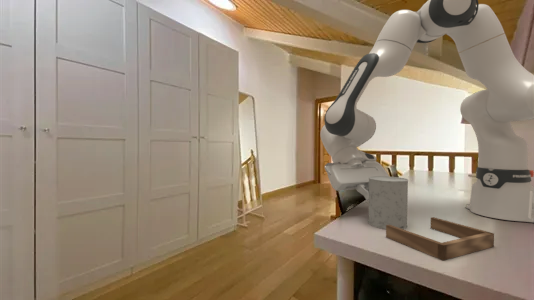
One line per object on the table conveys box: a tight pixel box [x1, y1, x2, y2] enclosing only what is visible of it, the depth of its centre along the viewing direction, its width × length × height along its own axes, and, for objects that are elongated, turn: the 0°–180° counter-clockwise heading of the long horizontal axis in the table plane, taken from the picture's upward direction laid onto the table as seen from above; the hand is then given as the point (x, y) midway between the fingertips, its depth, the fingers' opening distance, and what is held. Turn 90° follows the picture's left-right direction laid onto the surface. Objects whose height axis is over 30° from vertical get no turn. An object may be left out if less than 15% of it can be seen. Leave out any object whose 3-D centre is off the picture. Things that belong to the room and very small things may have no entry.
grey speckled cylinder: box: [367, 176, 409, 230], centre depth 70 cm, size 10×10×12 cm
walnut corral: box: [385, 216, 495, 261], centre depth 57 cm, size 16×13×3 cm
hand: (372, 198), depth 75 cm, fingers closed, pressing on grey speckled cylinder
